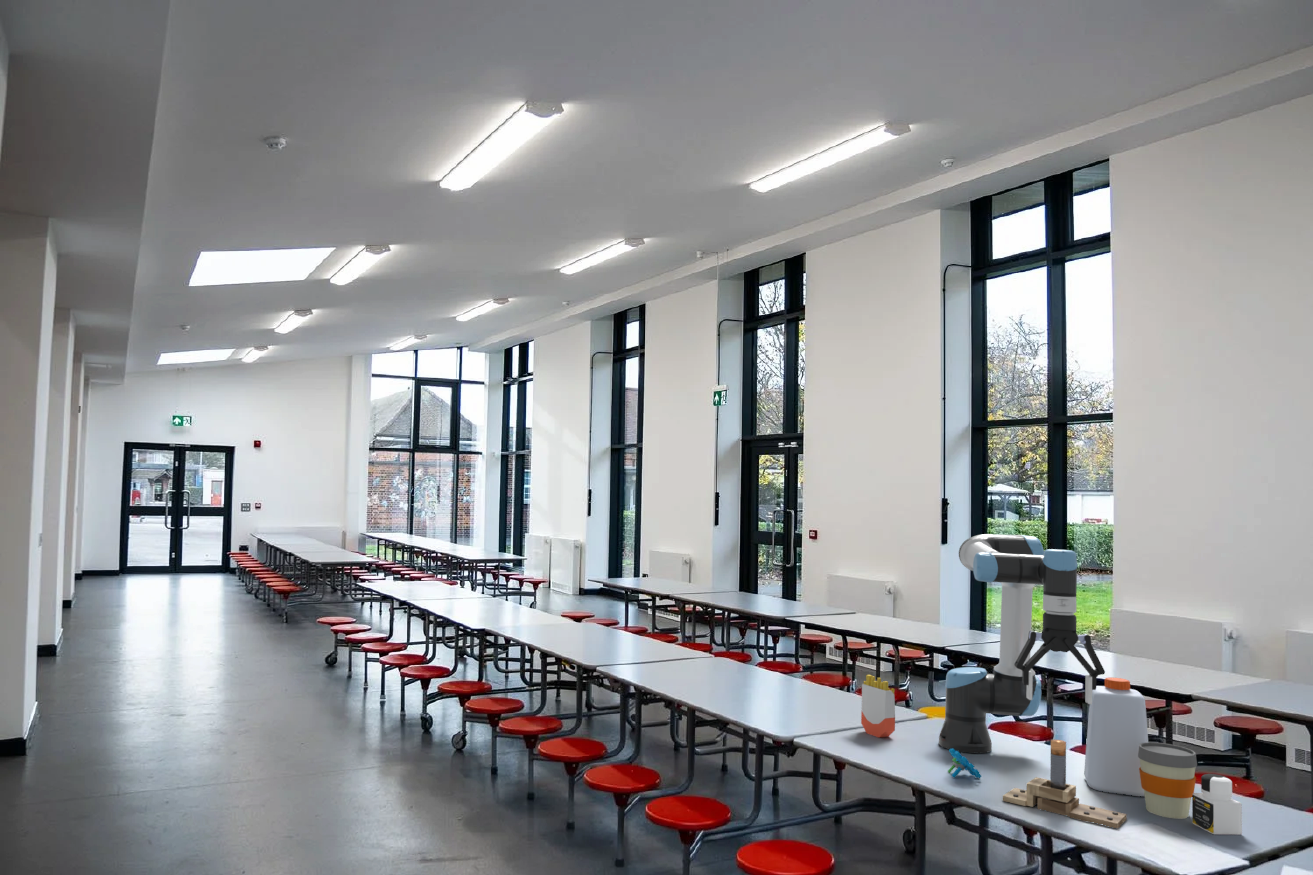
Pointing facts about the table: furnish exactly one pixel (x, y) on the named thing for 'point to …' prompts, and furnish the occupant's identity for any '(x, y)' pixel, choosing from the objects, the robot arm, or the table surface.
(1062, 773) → the pin
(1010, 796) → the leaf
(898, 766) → the table surface
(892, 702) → the french fries container
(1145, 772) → the reusable coffee cup
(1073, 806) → the wooden mounting plate
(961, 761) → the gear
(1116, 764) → the plastic bottle
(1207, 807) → the medicine bottle
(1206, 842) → the table surface
